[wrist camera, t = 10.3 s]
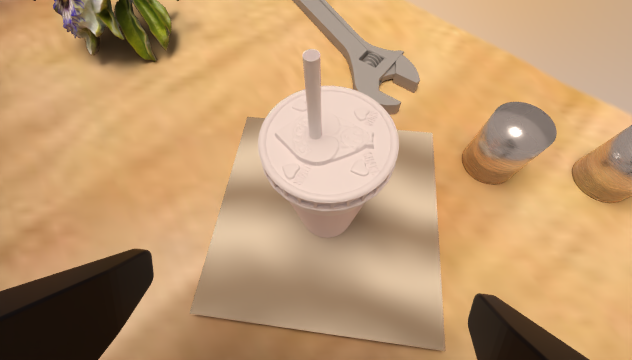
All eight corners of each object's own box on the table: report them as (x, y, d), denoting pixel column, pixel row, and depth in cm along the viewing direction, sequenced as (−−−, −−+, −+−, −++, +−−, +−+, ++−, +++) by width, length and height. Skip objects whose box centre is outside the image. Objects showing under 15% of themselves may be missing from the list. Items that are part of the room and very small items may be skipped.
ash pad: (440, 350, 18) (445, 351, 17) (194, 314, 20) (189, 313, 19) (429, 138, 25) (432, 133, 25) (249, 122, 27) (247, 116, 26)
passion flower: (127, 83, 37) (19, -10, 30) (190, 26, 38) (101, -75, 31) (127, 89, 28) (-28, -44, 21) (209, 13, 29) (90, -133, 22)
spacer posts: (744, 323, 18) (878, 322, 14) (454, 167, 24) (483, 130, 20) (753, 229, 21) (868, 202, 17) (489, 108, 27) (522, 63, 22)
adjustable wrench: (272, -17, 37) (270, -32, 36) (317, -31, 39) (317, -46, 37) (371, 123, 27) (373, 110, 25) (430, 99, 28) (436, 85, 26)
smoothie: (289, 172, 23) (248, -9, 11) (370, 177, 23) (425, -4, 10) (277, 253, 20) (202, 134, 8) (370, 261, 20) (445, 147, 7)
